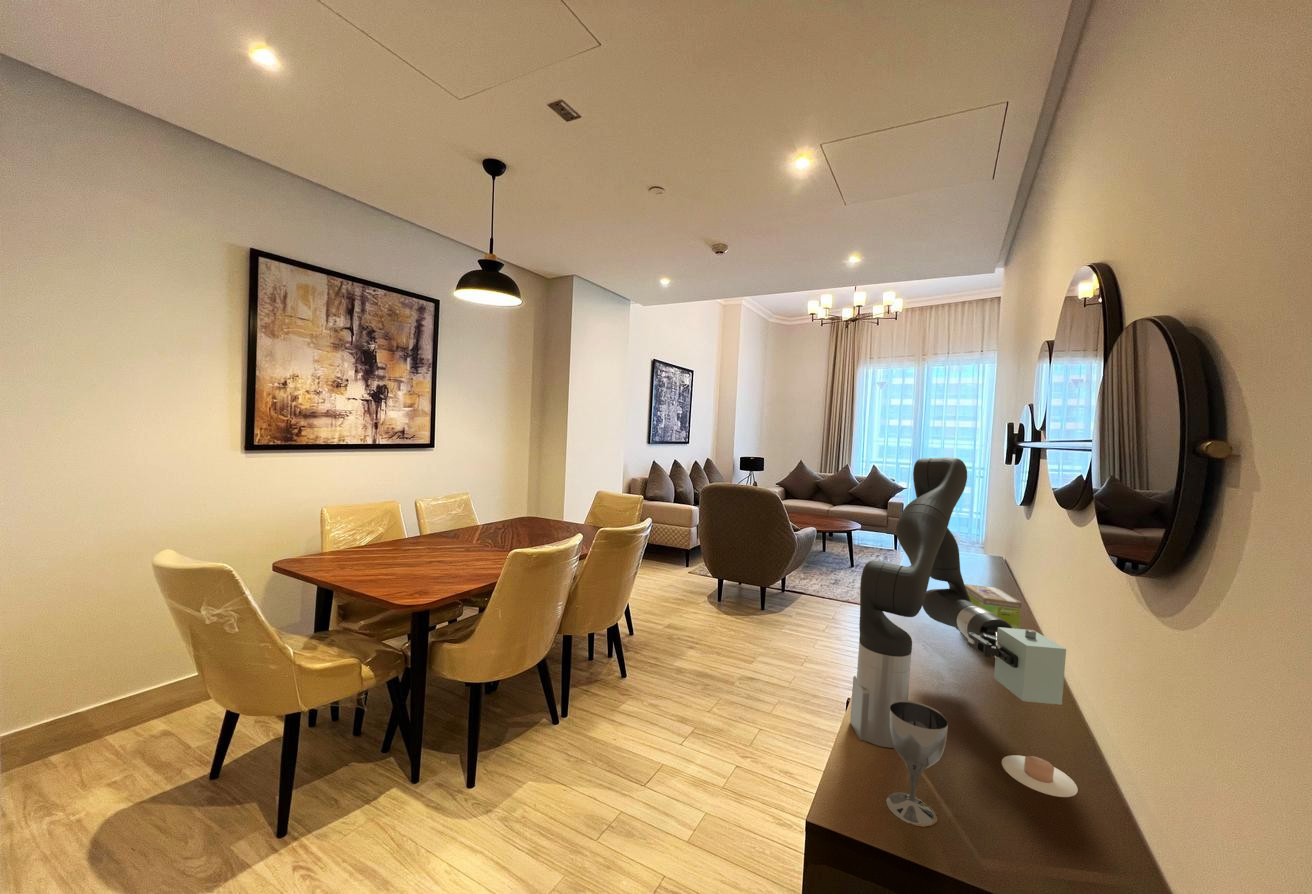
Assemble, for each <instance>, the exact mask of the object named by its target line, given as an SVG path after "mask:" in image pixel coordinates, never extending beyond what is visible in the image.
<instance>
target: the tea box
mask: <svg viewBox="0 0 1312 894" xmlns="http://www.w3.org/2000/svg"><path fill="white" fill-rule="evenodd" d="M964 585H965V587H966V590H967V592H968V595H969V597H970V600H971V602H972V603H974V604H975V605H977V606H979V607H980V608H983V609H985V610H987V611H989V612H991V613H992V614H994V615H996V616H997V617H999V618H1001V619H1002V620H1004V621H1006V622H1007V623H1009V624H1010V625H1011V626H1012V628H1014V629H1020V624H1021V614H1022V601H1020V600H1018V599H1016V598H1015V597H1013V596H1011V595H1010V594H1008V593H1006V592H1005V591H1004V590H1001V589H1000V588H998V587H995V586H993V587H992V586H983V585H977V584H976V585H975V584H968V583H967V584H965V583H964Z"/></svg>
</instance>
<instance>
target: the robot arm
mask: <svg viewBox="0 0 1312 894" xmlns="http://www.w3.org/2000/svg"><path fill="white" fill-rule="evenodd" d="M912 471H913V473H912V474H913V475H912V476H913V485H914V486H913V487H914V491H915V496H916V498H915V499H913V500H912V501H910V502H909V503H908V504H907V505H906V506H905V507H904V508H903V510H902V512H901V514H900V517H899V519H898V520H897V522H896V523H897V524H896V526H895V527H896V528H895V534H896V537H897V538H896V539H897V540H898V542H899V545H900V546H901V548H902V549H903V551H904V553H905V555H906V556H907V557H908V560H909V562H910V566H905V565H900V564H895V563H889V562H885V561H879V560H869V561H868V562H866V564H865V565H864V566H863V568H862V572H861V576H860V577H861V578H860V585H859V586H860V588H859V600H860V601H859V625H858V627H859V628H858V629H859V642H858V653H857V654H858V655H857V657H858V658H857V671H856V675H854V676H852V677H853V678H852V686H851V687H852V691H851V702H850V703H851V704H850V705H851V706H850V718H849V719H850V720H849V723H850V725H851V727H852V729H853V730H854V732H855V735H856V737H857V738H858V740H860V741H865V742H868V743H871V744H873V745H875V746H878V747H883V748H889V749H890V748H891V749H892V748H893V749H895V748H894V746H893V743H892V740H891V735H890V725H889V713H890V705H891V704H892V703H893V702H895V701H901V700H906V701H909V690H910V678H911V677H910V675H911V664H912V650H913V649H912V648H913V640H912V636H911V635H910V633H908V632H907V631H906V630H905V629H903V628H901V627H899V626H898V625H896V624H895V623H894V622H893V621H891V620H890V619H889V618H888V617H887V616H886V614H885V613H888V614H893V615H896V616H901V617H904V618H914V617H916V616H917V615H918V614H919V612H921V609H922V608H923V610H924V612H925V614H926V615H927V616H928V617H929V618H931V619H932V620H933V621H936V622H938V623H941V624H944V625H947V626H949V627H953V628H954V629H956V630H958V631H959V633H962V635H964V636H965V638H966V639H967V646H969V647H970V648H972V649H973V650H974V651H976V652H978V653H979V654H981V655H982V656H984V657H986V658H991V657H992V656H994V658H996V659H999V660H1003V661H1004V662H1005V663H1007V664H1009V665H1010V666H1011V667H1013V668H1017V667H1018V656H1017V655H1015V654H1014V653H1012V652H1011V651H1009V650H1008V649H1006V648H1003V647H1004V646H1003V645H1001V644H1000V643H999V641H998V639H997V631H998V627H1001V628H1012V626H1011V625H1010V624H1009V623H1007V622H1006V621H1004V620H1002V619H1001V618H999V617H997V616H996V615H994V614H992V613H991V612H989V611H987V610H985V609H983V608H980V607H979V606H977V605H975V604H974V603H972V602H971V600H970V597H969V595H968V592H967V590H966V587H965V585H964V584H965V582H964V579H963V576H962V571H961V562H960V561H961V560H960V550H959V546H958V545H959V544H958V542H957V540H956V538H955V536H954V535H953V533H952V531H951V530H950V529H949V528H948V527H949V524H950V520H951V517H952V515H953V512H954V510H955V507H956V506H957V503H958V502H959V501H960V498H961V497H962V495H963V492H964V491H965V489H966V486H967V485H966V484H967V480H968V468H967V466H966V464H965V463H964V461H963V460H962V459H960V458H956V457H929V458H928V457H927V458H920V459H917V460H916V462H914V466H913V470H912ZM930 578H931V579H933V580H935V581H940V582H947V584H948V587H949V588H934V589H928V587H929V584H930V583H929V582H930Z"/></svg>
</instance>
